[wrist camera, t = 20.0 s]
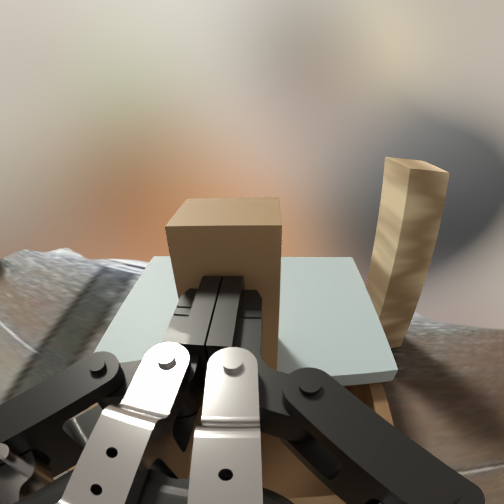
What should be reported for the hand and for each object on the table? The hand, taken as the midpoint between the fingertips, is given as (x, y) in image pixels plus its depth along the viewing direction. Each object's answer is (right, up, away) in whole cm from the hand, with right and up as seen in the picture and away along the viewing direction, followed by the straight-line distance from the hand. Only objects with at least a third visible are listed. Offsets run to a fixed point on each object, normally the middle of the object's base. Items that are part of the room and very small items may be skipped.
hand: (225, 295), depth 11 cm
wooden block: (+13, -6, +14) cm, 20 cm away
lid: (+1, -2, +8) cm, 9 cm away
